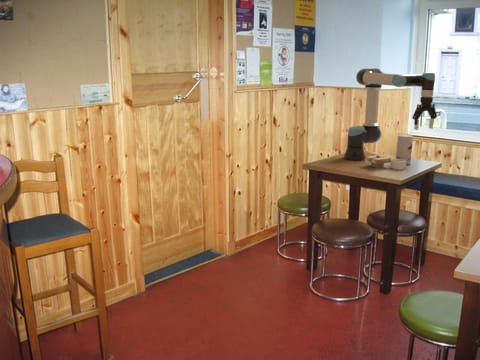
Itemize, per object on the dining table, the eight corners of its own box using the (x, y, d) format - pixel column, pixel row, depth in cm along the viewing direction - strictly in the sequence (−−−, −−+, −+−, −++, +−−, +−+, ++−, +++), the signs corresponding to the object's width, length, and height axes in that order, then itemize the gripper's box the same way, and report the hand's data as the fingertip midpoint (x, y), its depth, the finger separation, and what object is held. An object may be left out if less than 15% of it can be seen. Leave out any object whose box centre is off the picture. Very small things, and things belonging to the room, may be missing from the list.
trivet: (370, 166, 352) (371, 161, 351) (377, 165, 355) (377, 160, 354) (377, 167, 347) (377, 162, 346) (383, 166, 350) (384, 162, 349)
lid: (365, 160, 352) (365, 155, 351) (377, 159, 358) (378, 153, 357) (377, 164, 342) (378, 158, 341) (390, 162, 348) (391, 156, 347)
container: (411, 165, 356) (413, 136, 351) (396, 164, 358) (398, 136, 353) (409, 162, 366) (412, 134, 361) (395, 161, 368) (397, 134, 363)
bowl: (387, 167, 349) (388, 159, 347) (397, 166, 353) (398, 158, 352) (398, 170, 341) (398, 162, 339) (408, 168, 345) (408, 160, 344)
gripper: (417, 97, 321) (414, 131, 327) (444, 96, 333) (441, 128, 338) (408, 96, 328) (405, 129, 333) (435, 95, 340) (432, 127, 345)
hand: (423, 129), depth 336 cm, fingers open, 13 cm apart
